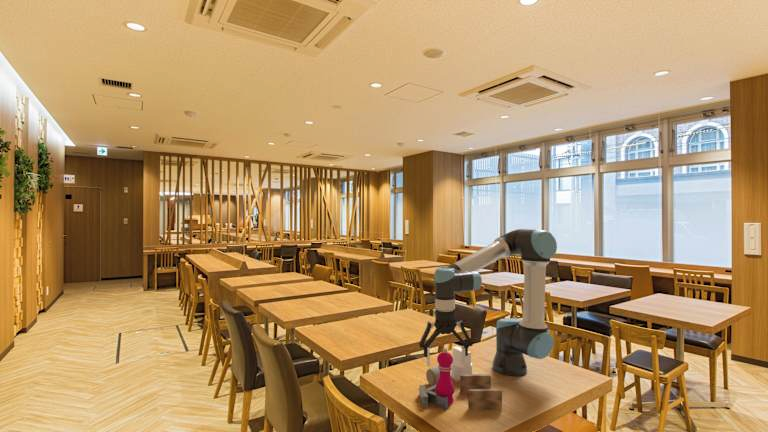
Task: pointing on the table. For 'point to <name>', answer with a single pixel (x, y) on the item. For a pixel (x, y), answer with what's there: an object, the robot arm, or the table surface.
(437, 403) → the letter k block
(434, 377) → the ceramic mug
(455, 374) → the base with upright slab
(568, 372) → the table surface
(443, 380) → the pepper mill
